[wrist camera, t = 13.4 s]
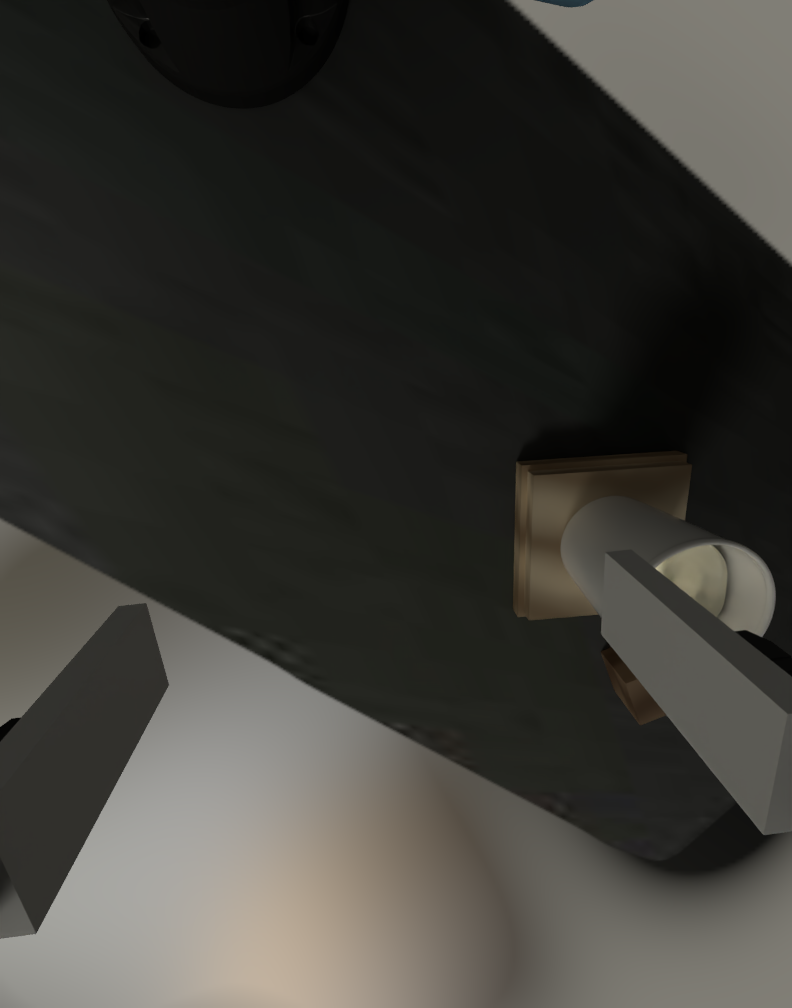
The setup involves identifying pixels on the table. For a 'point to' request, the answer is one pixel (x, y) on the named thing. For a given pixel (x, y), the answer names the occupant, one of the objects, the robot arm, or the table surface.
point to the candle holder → (670, 559)
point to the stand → (553, 502)
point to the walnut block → (631, 689)
